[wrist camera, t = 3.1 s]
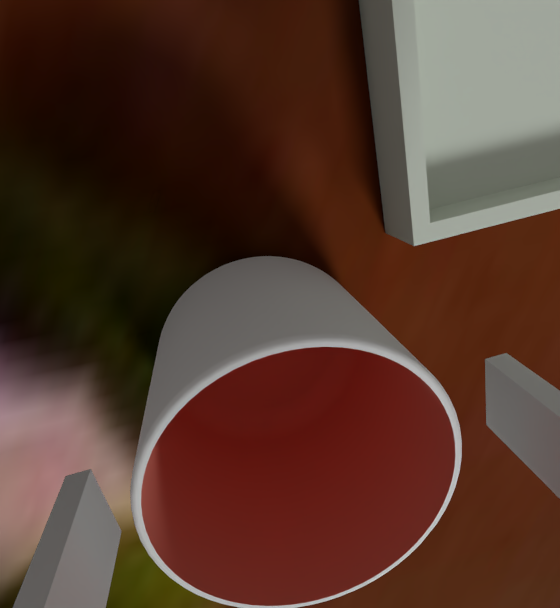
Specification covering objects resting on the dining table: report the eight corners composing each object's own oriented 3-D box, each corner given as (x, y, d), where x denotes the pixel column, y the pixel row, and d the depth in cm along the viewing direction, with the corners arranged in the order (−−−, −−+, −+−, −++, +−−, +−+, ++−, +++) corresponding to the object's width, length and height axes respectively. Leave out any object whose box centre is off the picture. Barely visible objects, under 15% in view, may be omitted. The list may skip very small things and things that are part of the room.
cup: (208, 214, 19) (217, 277, 10) (388, 295, 22) (524, 402, 13) (130, 397, 22) (79, 585, 12) (302, 448, 25) (366, 630, 15)
